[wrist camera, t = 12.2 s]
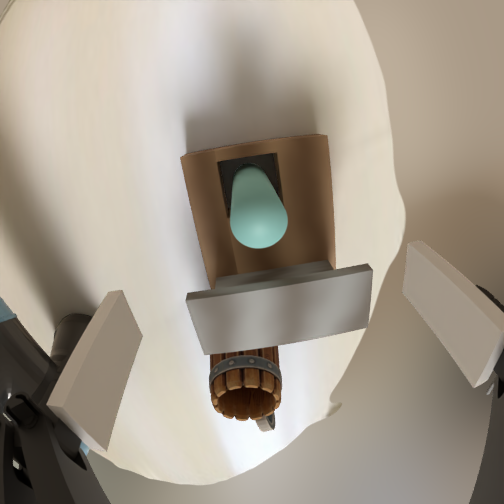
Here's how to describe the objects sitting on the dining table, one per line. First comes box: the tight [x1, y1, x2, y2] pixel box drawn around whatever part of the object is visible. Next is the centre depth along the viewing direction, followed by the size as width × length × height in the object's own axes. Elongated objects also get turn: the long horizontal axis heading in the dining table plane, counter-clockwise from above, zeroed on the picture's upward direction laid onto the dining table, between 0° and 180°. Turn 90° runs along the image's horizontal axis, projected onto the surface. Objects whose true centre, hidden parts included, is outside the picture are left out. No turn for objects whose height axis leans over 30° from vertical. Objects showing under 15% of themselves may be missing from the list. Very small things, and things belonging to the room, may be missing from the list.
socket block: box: [180, 134, 373, 355], centre depth 29 cm, size 16×17×15 cm
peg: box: [230, 163, 288, 248], centre depth 27 cm, size 4×4×16 cm
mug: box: [209, 346, 282, 432], centre depth 38 cm, size 16×11×15 cm
